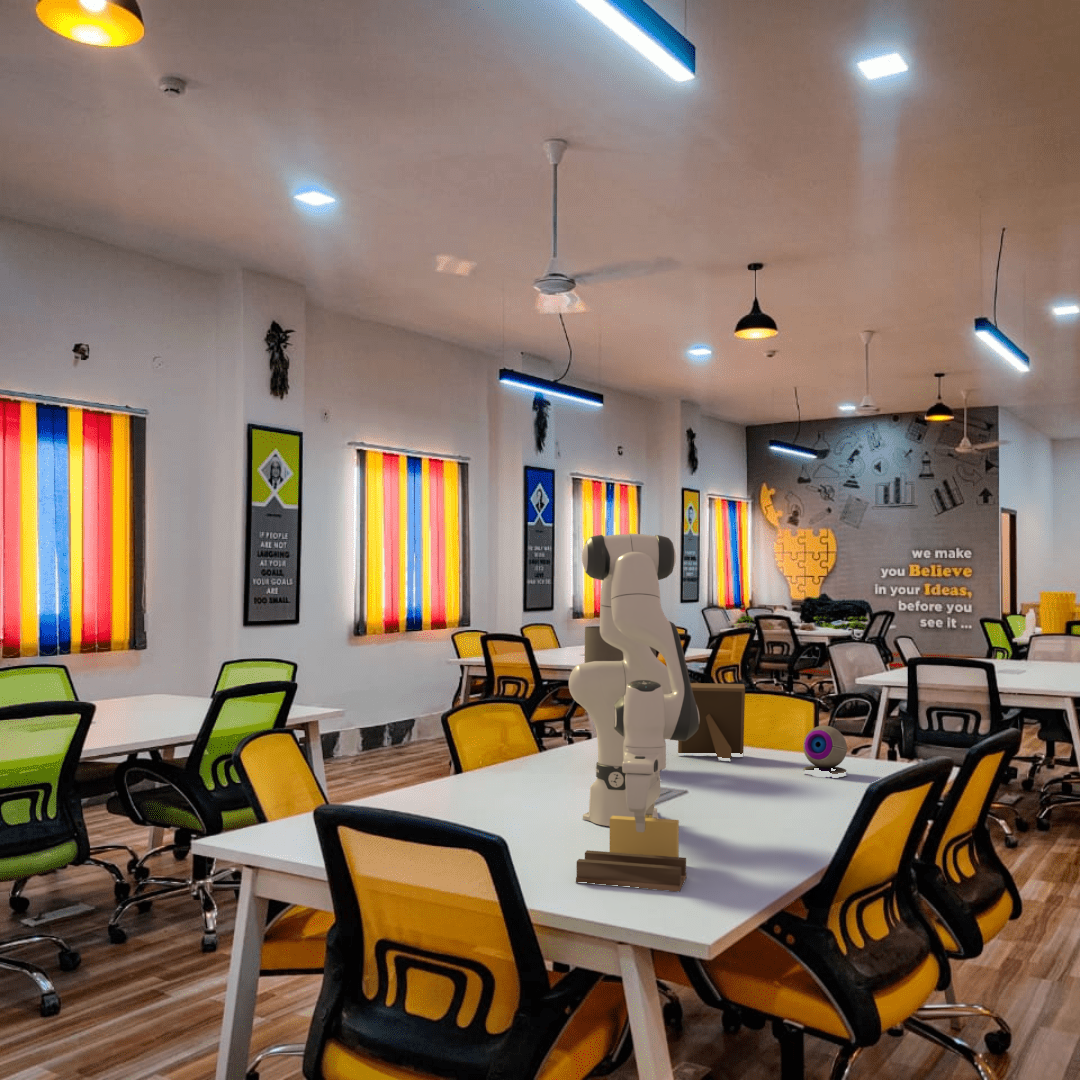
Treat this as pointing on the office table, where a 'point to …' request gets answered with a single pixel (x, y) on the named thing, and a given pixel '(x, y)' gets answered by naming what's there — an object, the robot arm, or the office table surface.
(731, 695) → the photo frame
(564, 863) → the office table surface
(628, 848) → the door panel
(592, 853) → the sliding track
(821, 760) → the webcam
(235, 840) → the office table surface
